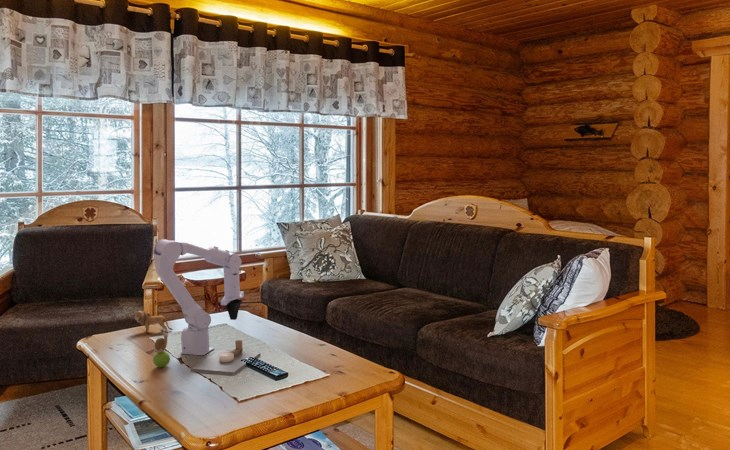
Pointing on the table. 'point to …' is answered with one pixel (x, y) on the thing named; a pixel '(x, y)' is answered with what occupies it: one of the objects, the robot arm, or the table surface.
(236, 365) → the stud board
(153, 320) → the lion figurine
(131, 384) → the table surface
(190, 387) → the table surface
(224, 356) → the brown white rounded rod
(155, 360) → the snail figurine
